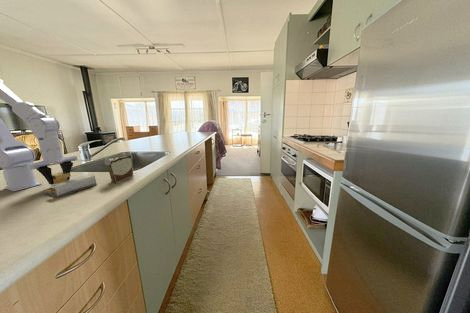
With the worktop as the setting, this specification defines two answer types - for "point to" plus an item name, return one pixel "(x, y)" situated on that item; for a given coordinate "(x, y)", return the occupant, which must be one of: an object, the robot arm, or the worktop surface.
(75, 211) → the worktop surface
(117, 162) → the food container
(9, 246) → the worktop surface
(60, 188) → the grey and orange tray
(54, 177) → the clip nut
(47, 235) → the worktop surface
